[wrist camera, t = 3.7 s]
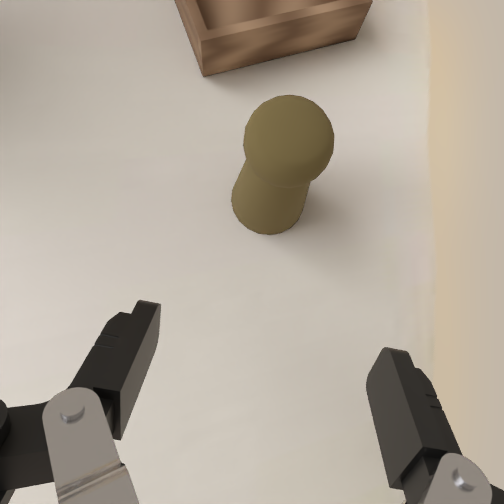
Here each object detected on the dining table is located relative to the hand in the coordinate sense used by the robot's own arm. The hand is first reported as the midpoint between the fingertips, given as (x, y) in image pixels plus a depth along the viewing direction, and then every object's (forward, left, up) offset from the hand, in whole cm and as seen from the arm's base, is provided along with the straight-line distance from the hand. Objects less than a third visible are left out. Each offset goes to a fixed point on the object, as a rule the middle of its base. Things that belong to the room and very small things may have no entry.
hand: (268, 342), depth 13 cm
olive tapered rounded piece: (+6, +10, -15) cm, 19 cm away
